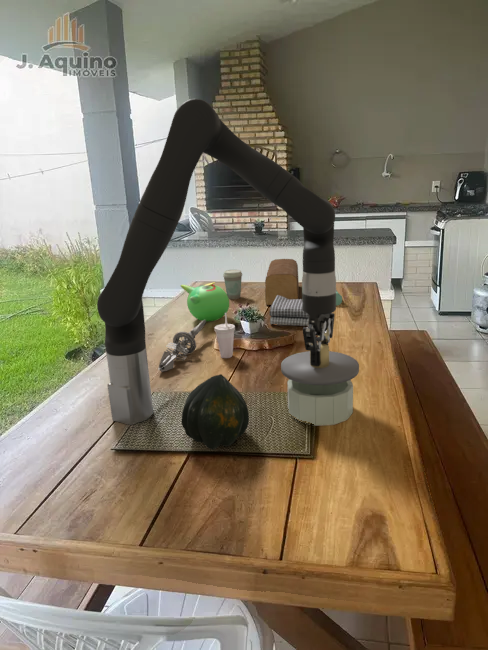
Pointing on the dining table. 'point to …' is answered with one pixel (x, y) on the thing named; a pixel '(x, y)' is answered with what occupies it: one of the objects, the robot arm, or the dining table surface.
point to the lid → (320, 368)
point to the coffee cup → (233, 283)
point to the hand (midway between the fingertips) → (319, 361)
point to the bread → (282, 280)
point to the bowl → (320, 402)
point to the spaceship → (180, 347)
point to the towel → (288, 312)
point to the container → (338, 298)
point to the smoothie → (225, 338)
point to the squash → (215, 413)
